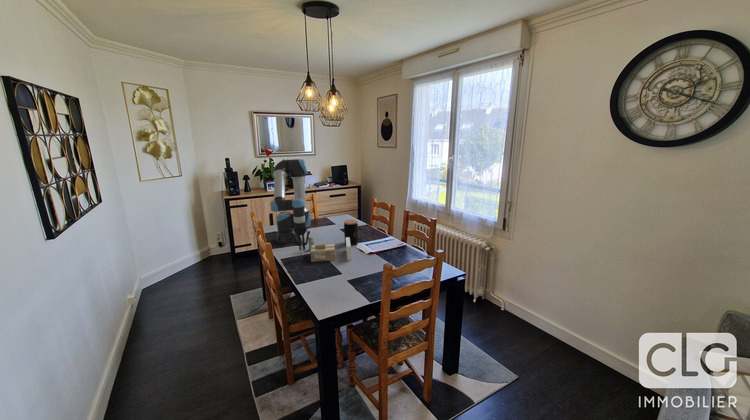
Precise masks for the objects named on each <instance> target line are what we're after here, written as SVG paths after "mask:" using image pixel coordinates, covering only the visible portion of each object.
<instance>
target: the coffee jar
mask: <svg viewBox="0 0 750 420" xmlns="http://www.w3.org/2000/svg"><path fill="white" fill-rule="evenodd" d="M343 232H344V233H343V234H344V244H345V245H346V237H350V244H351V246H357V245H358V244H359V243H360V242H359V224H358V220H357V219H346V220H344V221H343Z"/></svg>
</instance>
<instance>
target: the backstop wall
mask: <svg viewBox="0 0 750 420" xmlns="http://www.w3.org/2000/svg"><path fill="white" fill-rule="evenodd" d="M345 249H346V250H345V251H346V252H345V253H346V260H347V261H352V245H351V244H350V237H346V244H345Z"/></svg>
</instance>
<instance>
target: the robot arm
mask: <svg viewBox="0 0 750 420" xmlns="http://www.w3.org/2000/svg"><path fill="white" fill-rule="evenodd" d="M307 174H308V169H307V165H306V161H305V159H303V158H298V159H297V158H295V159H282V160H280V161H279V162H277V164H275V166H274V168H273V171H272V176H273V179H274V180H273V182H274V183H273V200H270V204H269V206H270V211H271V212H274V213H275V212H280V213H278V214H276V216H275V219H276V226H277V227H276V228H277V236H276V243H277V244H279V245H287V244H292V243H295V246H298V247H299V249H298V250H299V251H300V252H301V253H300V255H301V256H304V255H305V250H306V246H307V245H308V244H309V242H308V237H310V236H309V235H310V234H311V230H308V229H307V228H308V227H310V225H311V217H312V216H311V215H312V213H311V212H310V210H309V209H308V208H307V199H306V197H307V196H306V186H305V178H306V176H307ZM287 176H289V177H290V178H291V179H292V182H293V183H292V184H293V195H294V199H286V177H287ZM291 211H292V212H291ZM305 234H306V238H305ZM296 235H297V236H296ZM297 238H298V239H297Z"/></svg>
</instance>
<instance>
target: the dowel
mask: <svg viewBox="0 0 750 420" xmlns="http://www.w3.org/2000/svg"><path fill="white" fill-rule="evenodd" d="M312 244H315V237H314V236H309V237H308V251H309V252H311V247H312Z"/></svg>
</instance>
